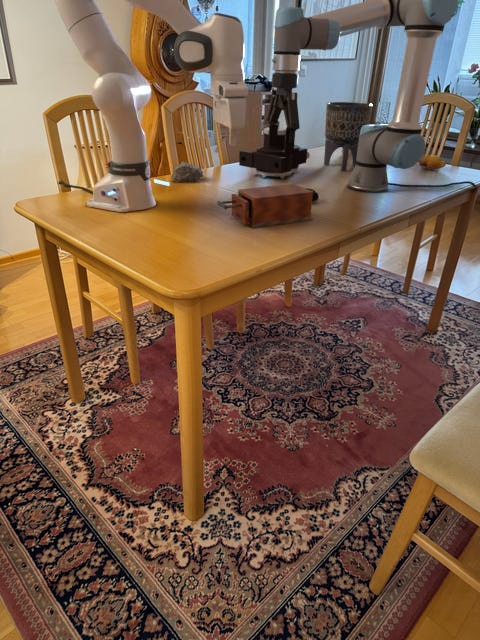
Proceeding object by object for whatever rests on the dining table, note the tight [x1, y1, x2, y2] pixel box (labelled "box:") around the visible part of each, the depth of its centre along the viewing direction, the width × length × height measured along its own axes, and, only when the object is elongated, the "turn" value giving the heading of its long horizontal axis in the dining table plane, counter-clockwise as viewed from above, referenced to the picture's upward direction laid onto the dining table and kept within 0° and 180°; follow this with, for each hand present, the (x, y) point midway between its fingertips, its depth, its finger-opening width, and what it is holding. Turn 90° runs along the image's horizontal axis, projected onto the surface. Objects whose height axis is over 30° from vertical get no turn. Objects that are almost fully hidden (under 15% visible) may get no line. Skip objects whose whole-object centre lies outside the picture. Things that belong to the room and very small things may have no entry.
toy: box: [417, 154, 447, 171], centre depth 211 cm, size 11×6×15 cm
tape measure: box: [304, 187, 319, 202], centre depth 158 cm, size 7×7×4 cm
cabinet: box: [237, 183, 313, 228], centre depth 139 cm, size 20×11×9 cm, turn 115°
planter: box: [323, 101, 374, 172], centre depth 204 cm, size 20×20×26 cm
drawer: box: [216, 193, 252, 226], centre depth 137 cm, size 24×10×7 cm, turn 115°
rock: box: [170, 161, 204, 183], centre depth 180 cm, size 13×9×6 cm, turn 131°
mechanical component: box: [238, 120, 311, 179], centre depth 191 cm, size 22×21×30 cm
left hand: (228, 142), depth 126 cm, fingers open, 8 cm apart
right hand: (280, 150), depth 141 cm, fingers open, 13 cm apart
